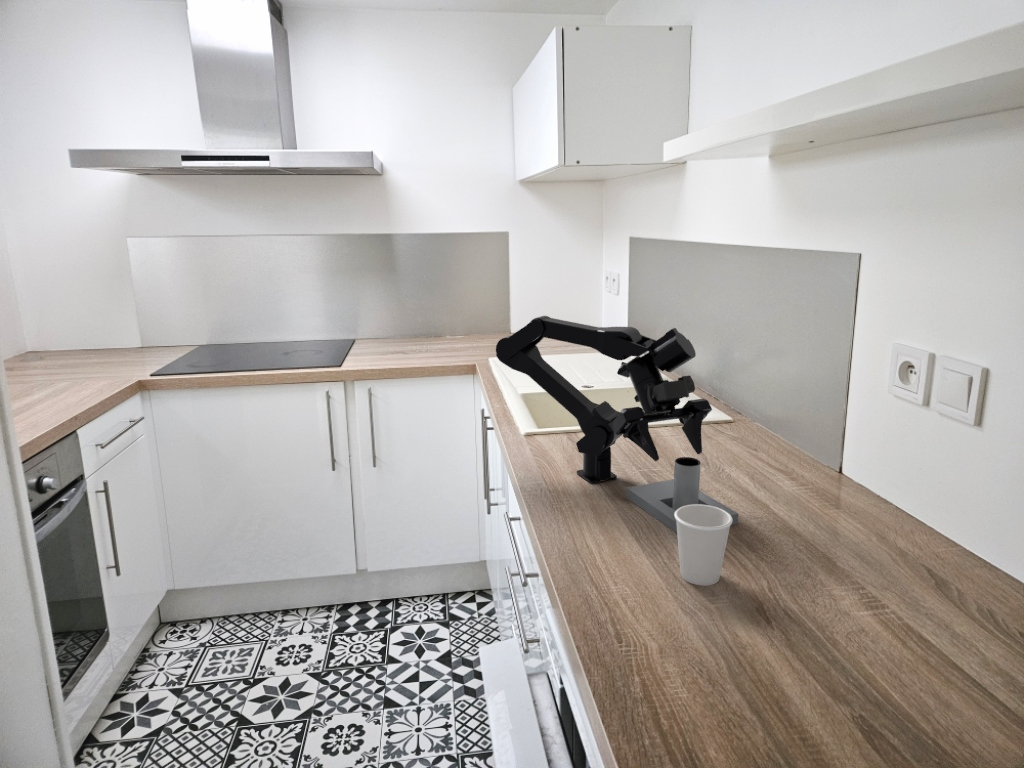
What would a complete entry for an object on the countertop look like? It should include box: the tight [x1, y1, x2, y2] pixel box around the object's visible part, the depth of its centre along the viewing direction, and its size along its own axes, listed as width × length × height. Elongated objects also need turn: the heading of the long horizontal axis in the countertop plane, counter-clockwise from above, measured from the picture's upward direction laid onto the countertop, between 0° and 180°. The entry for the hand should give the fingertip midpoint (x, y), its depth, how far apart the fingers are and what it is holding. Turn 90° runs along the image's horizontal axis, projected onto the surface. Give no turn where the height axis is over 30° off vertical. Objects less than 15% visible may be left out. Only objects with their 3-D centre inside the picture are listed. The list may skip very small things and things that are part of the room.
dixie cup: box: [674, 504, 733, 587], centre depth 103 cm, size 8×8×10 cm
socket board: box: [625, 478, 739, 534], centre depth 127 cm, size 18×12×2 cm, turn 22°
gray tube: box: [672, 456, 702, 511], centre depth 124 cm, size 4×4×10 cm
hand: (678, 456), depth 125 cm, fingers open, 9 cm apart
